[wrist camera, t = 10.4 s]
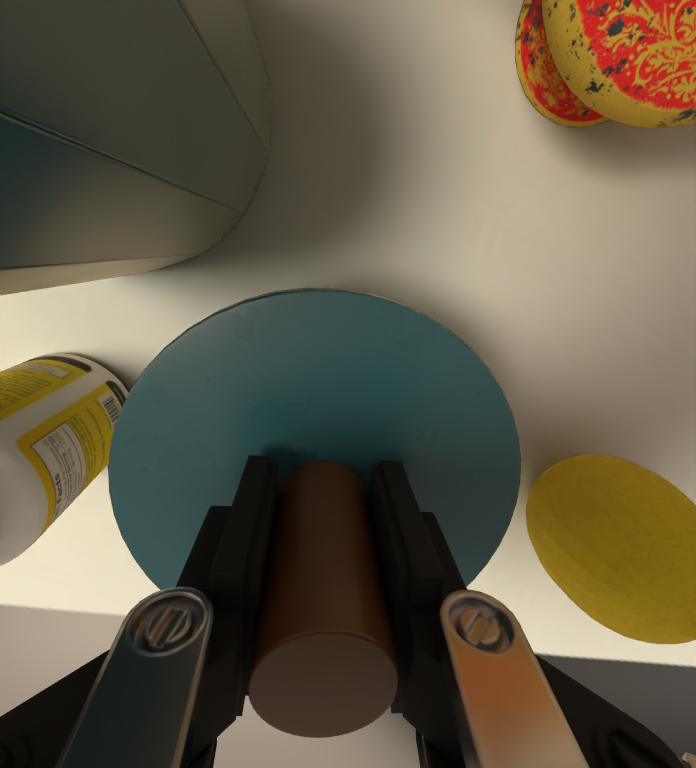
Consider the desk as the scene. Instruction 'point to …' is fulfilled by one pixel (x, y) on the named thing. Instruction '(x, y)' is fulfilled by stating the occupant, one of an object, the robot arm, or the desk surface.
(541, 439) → the desk surface
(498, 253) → the desk surface
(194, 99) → the pot
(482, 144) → the desk surface
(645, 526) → the lemon
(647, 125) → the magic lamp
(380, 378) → the lid
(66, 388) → the supplement bottle
